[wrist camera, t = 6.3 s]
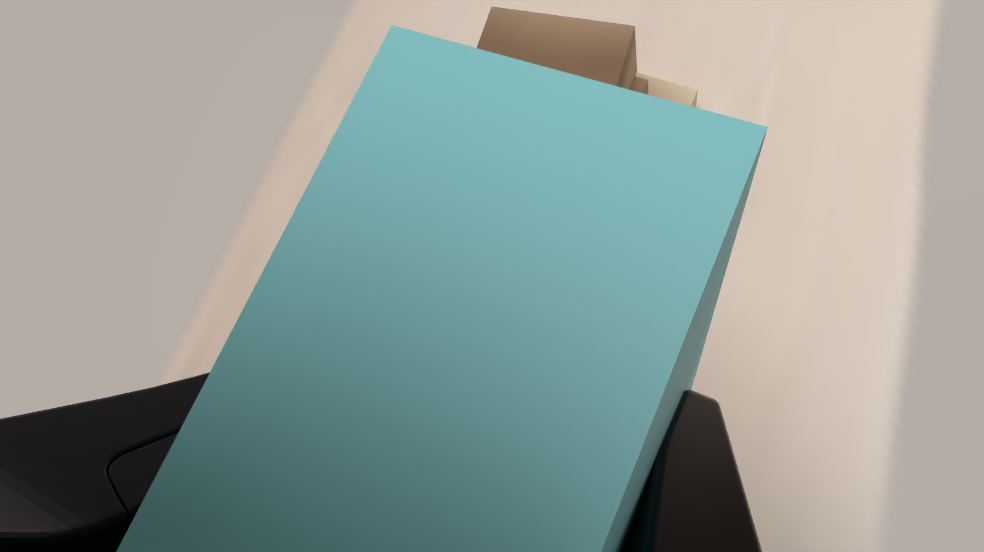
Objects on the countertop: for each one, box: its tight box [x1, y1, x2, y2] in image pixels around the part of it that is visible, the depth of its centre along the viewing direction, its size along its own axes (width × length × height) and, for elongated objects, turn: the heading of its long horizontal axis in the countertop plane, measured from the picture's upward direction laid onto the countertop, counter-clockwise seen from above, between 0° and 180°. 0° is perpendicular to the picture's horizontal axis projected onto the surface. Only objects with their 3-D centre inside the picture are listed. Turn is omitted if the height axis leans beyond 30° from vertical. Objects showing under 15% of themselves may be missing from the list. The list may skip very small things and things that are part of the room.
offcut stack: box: [477, 7, 648, 95], centre depth 22 cm, size 5×5×4 cm
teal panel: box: [116, 25, 768, 552], centre depth 9 cm, size 5×2×11 cm, turn 155°
